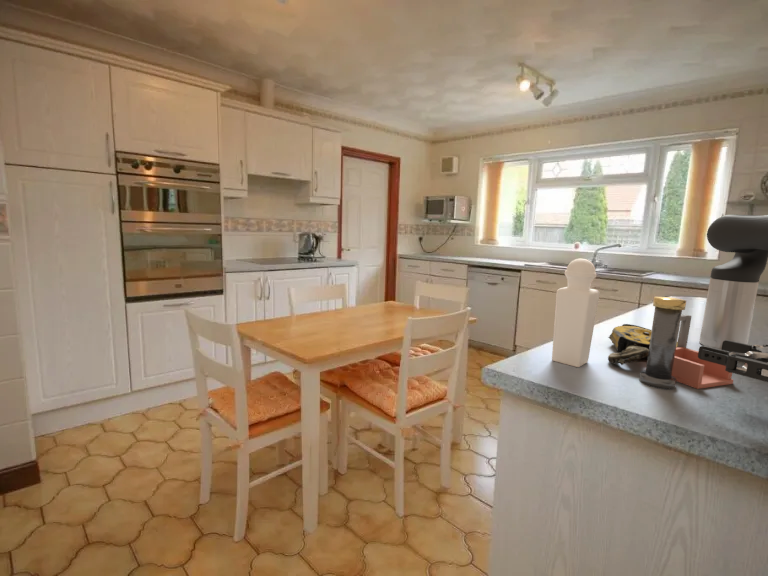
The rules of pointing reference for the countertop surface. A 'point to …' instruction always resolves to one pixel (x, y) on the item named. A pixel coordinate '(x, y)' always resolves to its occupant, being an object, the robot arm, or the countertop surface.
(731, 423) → the countertop surface
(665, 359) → the tie-down post
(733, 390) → the countertop surface
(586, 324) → the white square bottle
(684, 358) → the keeper bracket
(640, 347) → the pulley block
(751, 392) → the countertop surface
